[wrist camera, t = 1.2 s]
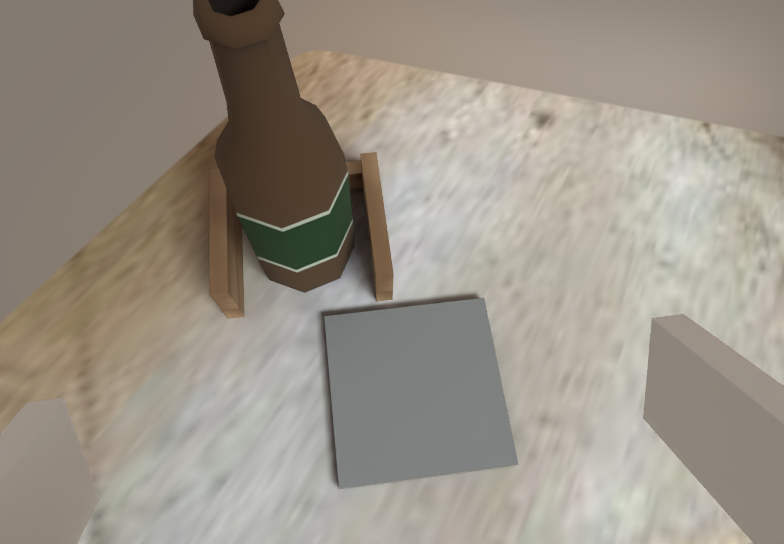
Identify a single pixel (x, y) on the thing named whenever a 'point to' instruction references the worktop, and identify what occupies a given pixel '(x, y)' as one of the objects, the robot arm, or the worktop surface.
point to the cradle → (229, 237)
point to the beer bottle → (277, 149)
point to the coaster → (416, 393)
